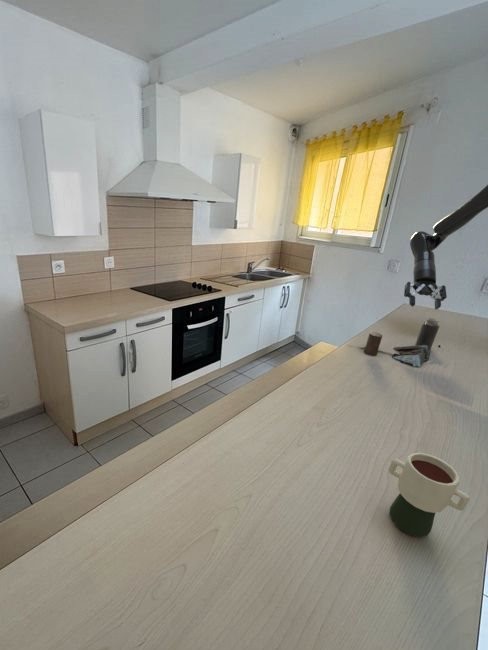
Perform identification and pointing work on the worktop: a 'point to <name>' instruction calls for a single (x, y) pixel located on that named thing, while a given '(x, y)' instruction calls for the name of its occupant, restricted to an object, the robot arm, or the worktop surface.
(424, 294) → the robot arm
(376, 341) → the cylinder
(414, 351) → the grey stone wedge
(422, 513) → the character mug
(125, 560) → the worktop surface
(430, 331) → the pepper mill
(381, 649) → the worktop surface
